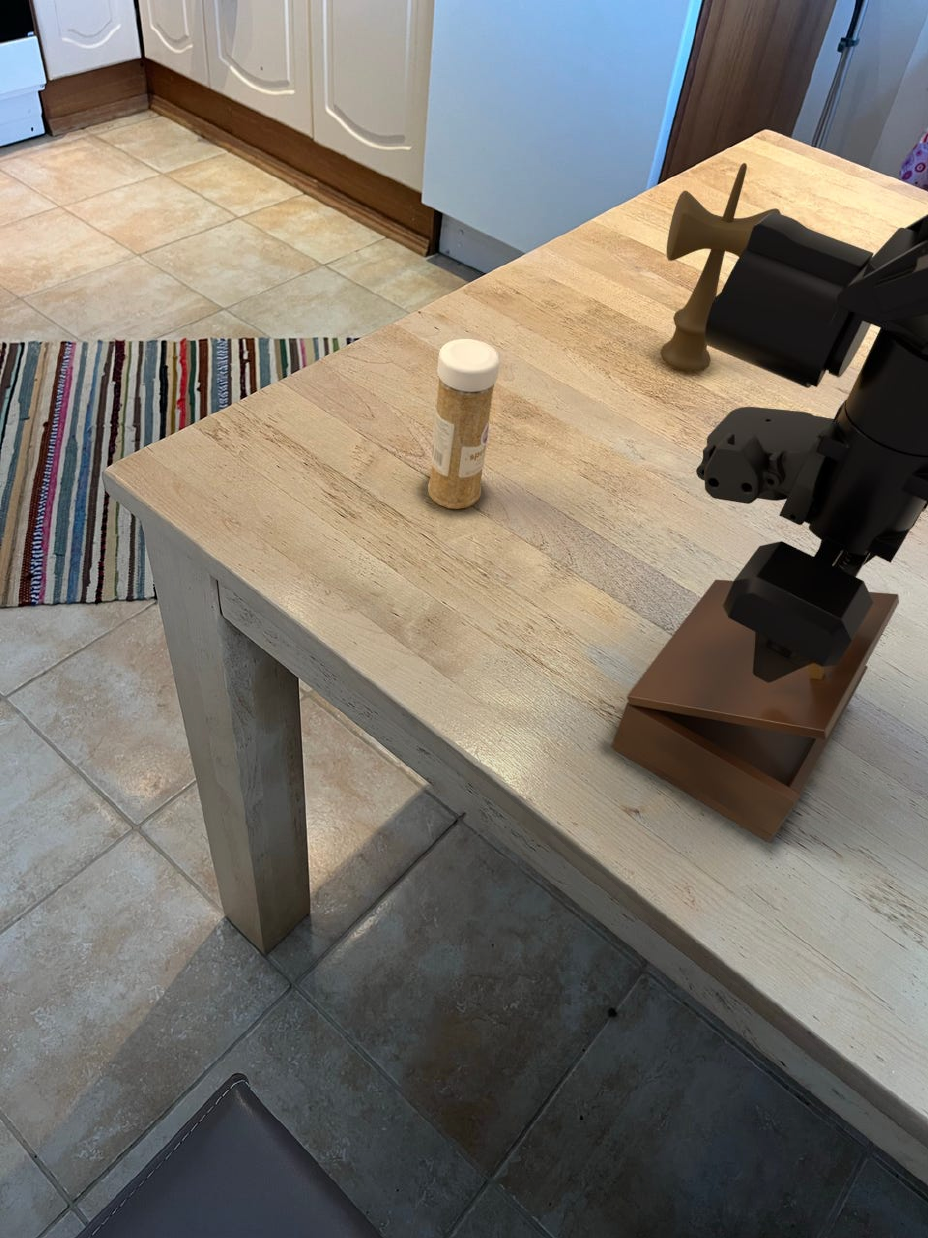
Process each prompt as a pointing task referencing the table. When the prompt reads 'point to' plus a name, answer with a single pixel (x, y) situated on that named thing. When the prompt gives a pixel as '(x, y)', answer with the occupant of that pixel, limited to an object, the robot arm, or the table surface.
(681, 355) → the kendama
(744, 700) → the lid
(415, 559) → the table surface
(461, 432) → the spice jar
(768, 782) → the keepsake box
